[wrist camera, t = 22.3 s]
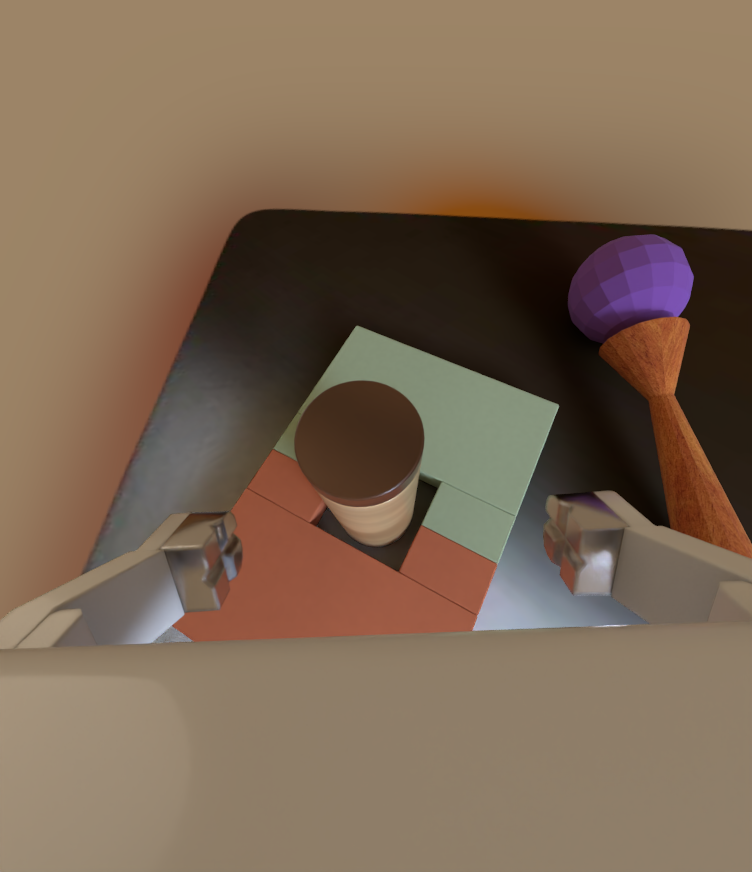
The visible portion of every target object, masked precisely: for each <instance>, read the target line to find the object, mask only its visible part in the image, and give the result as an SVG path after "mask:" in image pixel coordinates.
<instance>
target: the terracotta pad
mask: <svg viewBox="0 0 752 872" xmlns="http://www.w3.org/2000/svg"><path fill="white" fill-rule="evenodd" d="M327 507H328V506H327V505H326V504H325V502H324V501H323V500H322V498H321V497H320V495H319V494H318V493H317V491H316V490H315V489H314V487H313V486H312V485H311V483H310V482H309V481H308V479H307V478H306V476H305V475H304V474H303V472H302V470H301V469H300V467H299V465H298V462H297V461H296V460H294V459H292V458H290V457H288V456H286V455H284V454H282V453H280V452H278V451H276V450H274V449H273V450H272V451H271V453H270V454H269V456H268V457H267V458H266V460H265V461H264V463H263V464H262V466H261V467H260V469H259V470H258V472H257V473H256V475H255V476H254V478H253V479H252V481H251V482H250V484H249V485H248V487H247V488H246V489H245V491H244V492H243V494H242V495H241V497H240V498H239V500H238V501H237V502H236V504H235V505H234V507H233V508H232V510H231V512H232V513H233V514H234V515H235V518H236V522H237V527H236V529H235V531H234V534H235V535H236V536H237V537H238V538H239V539H240V540H241V542H242V547H243V560H242V566H241V569H240V571H239V573H238V575H237V577H235V578H234V579H233V580H231V581H230V582H229V586H230V591H229V593H228V595H227V597H226V599H225V601H224V603H223V605H222V607H221V609H220V610H216V611H202V612H188V613H185V615H184V616H182V617H181V618H180V619H179V620H178V621H177V622H175V623H174V624H173V625H172V626H173V627H174V628H176V629H177V630H179V631H180V632H181V633H183V634H184V635H186V636H187V637H189V638H190V639H191V640H193V641H194V642H200V641H226V640H252V639H278V638H304V637H330V636H357V635H383V634H409V633H435V632H461V631H472V630H473V627H474V625H475V622H476V619H477V615H478V614H479V611H480V609H481V606H482V604H483V601H484V598H485V596H486V593H487V591H488V588H489V586H490V583H491V580H492V578H493V575H494V573H495V570H496V567H497V564H496V563H495V562H493V561H491V560H489V559H487V558H485V557H483V556H481V555H479V554H477V553H475V552H473V551H471V550H469V549H467V548H465V547H464V546H462V545H460V544H458V543H456V542H454V541H452V540H450V539H448V538H446V537H444V536H442V535H440V534H438V533H436V532H434V531H432V530H430V529H428V528H426V527H424V526H422V525H421V526H420V527H419V530H418V532H417V534H416V536H415V538H414V540H413V542H412V544H411V546H410V548H409V550H408V553H407V555H406V557H405V559H404V561H403V563H402V565H401V567H400V569H399V572H398V571H396V570H394V569H392V568H391V567H389V566H387V565H385V564H383V563H381V562H380V561H378V560H376V559H374V558H372V557H371V556H369V555H367V554H365V553H363V552H362V551H360V550H358V549H356V548H354V547H353V546H351V545H349V544H347V543H345V542H344V541H342V540H340V539H338V538H336V537H334V536H333V535H331V534H329V533H327V532H325V531H324V530H322V529H320V528H318V527H316V526H317V524H318V522H319V520H320V519H321V517H322V515H323V513H324V512H325V510H326V508H327Z"/></svg>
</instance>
